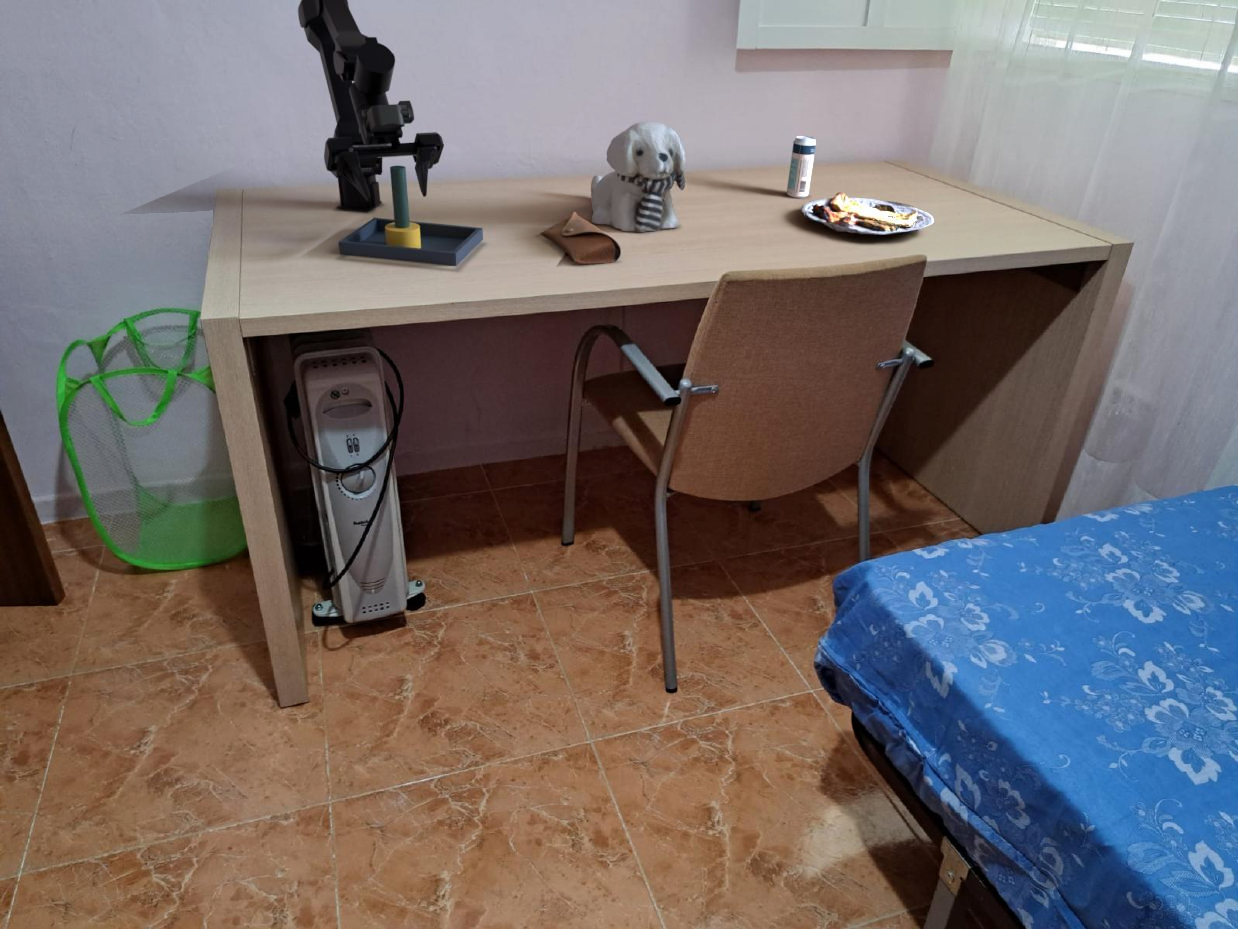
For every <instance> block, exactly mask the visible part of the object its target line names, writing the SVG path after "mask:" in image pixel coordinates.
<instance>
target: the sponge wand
mask: <svg viewBox="0 0 1238 929" xmlns="http://www.w3.org/2000/svg"><path fill="white" fill-rule="evenodd" d="M389 172H390V173H389V174H390V183H391V184H390V185H391V196H392V209H393V210H392V211H393V219H394V222H393V223H389V224H387V225H386V226H385V234H386V245H390V246H400V247H410V248H421V238H420V226H419V225H418V224H416V223H412V222H409V221H410V211H409V210H410V209H409V198H408V197H409V196H408V185H407V184H408V183H407V168H406V166H404V165H391V166H390V167H389Z"/></svg>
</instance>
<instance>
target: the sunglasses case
mask: <svg viewBox="0 0 1238 929" xmlns="http://www.w3.org/2000/svg"><path fill="white" fill-rule="evenodd" d="M540 235H541V236H544V237H545V238H547V239H548V240H549V241H551V242H552V243H554V244H555V245H556V246H557V247H558V248H560V249H561V250H563V251H564V252H565V253H564V255H565V256H566V257H567V258H569V259H570V260H571V261H573V262H574V263H577V264H582V265H583V264H585V265H600V264H601V265H602V264H611V263H615V262H617V261H618V260H619V259H620V257H621V256H622V251H621V250H622V249H621V246H620V244H619V242H618V241H616V239H614V238H613V237H611V236H610V235H608V233H607V234H606V233H605V232H604V231H602V230H601V229H600V228H598V227H597V226H596V225H594V224H593V223H592V222H590V221H588V220H586V219H584V218H583V217H582V216H580V215H578V213H576V211H572V213H571V215H569V216H567V217H566V218H564V219H562V220H560V221H558V222H557V223H555V224H553V225H551V226H549V227H548V228H546V229H545V230H543V231H541V232H540Z"/></svg>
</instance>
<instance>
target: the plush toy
mask: <svg viewBox="0 0 1238 929" xmlns="http://www.w3.org/2000/svg"><path fill="white" fill-rule="evenodd" d="M686 161H687V159H686V152H685V148H684V145H683V143H682V140H681V138H680V136H679V135H678V132H676V130H675V129H674V128H672V127H669V126H667V125H666V124H664V123H662V122H661V123H660V122H652V121H640V122H636V123H633V124H632V125H630V126H629V127H628V128H626V129H625V130H623V131H622V132H620V133H619V134H618V135H615V136H614V137H613V138H612V139H611V141H610V144H609V145H608V147H607V150H606V162H607V164H608V165H609V166H610V167H611V169H613V171H611V172H609V173H608V174H606V175H604V176H602V175H599V174H597V175H594V176H593V177H592V179H591V183H590V199H591V207H592V212H593V213H592V215H591V223H592V224H597V225H598V224H600V225H607V226H612V227H614V228H615V229H617V230H620V231H623V232H637V233H645V232H649V231H654V232H655V231H658V230H660V229H661V230H662V229H673V228H678V225H679V219H678V216H677V212H676V210H675V207H674V202H673V198H672V192H671V189H672V188H673V186H674V184H675V182H676V185H677V187H678V189H680V191H684V189H685V187H686V178H685V177H686V176H685V174H684V171H685V170H686V163H687V162H686Z"/></svg>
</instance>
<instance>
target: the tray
mask: <svg viewBox="0 0 1238 929" xmlns="http://www.w3.org/2000/svg"><path fill="white" fill-rule="evenodd" d="M393 222H394V218H393V219H391V218H381V217H373V218H371V219H370V220H368V221H367V222H365V223H364V224H363V225H361V226H360V227H358V228H357V229H355V230H354V231H353V232H351V233H349V234H348V235H346V236H345V237H343V238H342V239H340V240H339V241H338V252H339V255H342V256H351V257H352V256H353V257H363V258H373V259H383V260H393V261H402V262H410V263H411V262H412V263H421V264H432V265H441V266H452V267H457V266H459V264H461V262H462V261H463V260H465V259H466V257H467V256H468V255H469V254H470V253H471V252H472V251H474V250H475V249H476V247H477V246H478V245H479V244H480V243H481V242H482V241H483V240H484V230H483V227H478V226H465V225H457V224H446V223H434V222H425V221H415V220H409V222H412V223H416V224H418V225H419V226H420V238H421V248H410V247H400V246H390V245H386V234H385V226H386V225H387V224H389V223H393Z"/></svg>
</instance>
